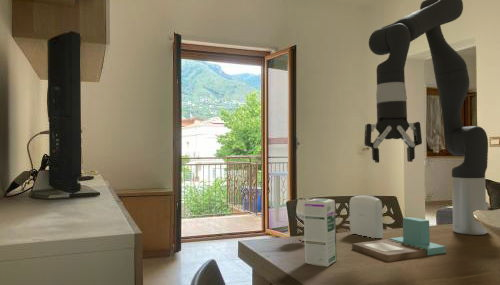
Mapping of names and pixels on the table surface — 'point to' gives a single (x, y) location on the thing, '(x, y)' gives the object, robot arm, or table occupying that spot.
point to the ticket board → (389, 250)
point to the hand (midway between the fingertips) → (393, 162)
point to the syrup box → (320, 232)
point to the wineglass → (301, 207)
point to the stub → (419, 236)
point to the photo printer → (366, 216)
